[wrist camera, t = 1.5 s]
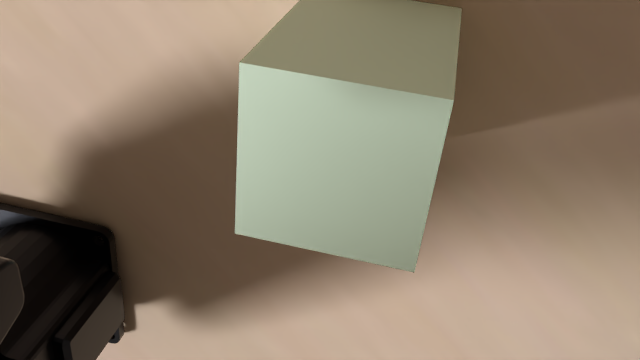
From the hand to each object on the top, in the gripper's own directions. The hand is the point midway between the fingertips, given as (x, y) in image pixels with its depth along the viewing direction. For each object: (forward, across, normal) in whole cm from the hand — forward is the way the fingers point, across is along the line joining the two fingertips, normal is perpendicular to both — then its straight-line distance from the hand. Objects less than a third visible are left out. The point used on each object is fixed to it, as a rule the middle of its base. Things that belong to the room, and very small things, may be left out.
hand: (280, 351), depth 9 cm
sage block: (+12, +1, 0) cm, 12 cm away
